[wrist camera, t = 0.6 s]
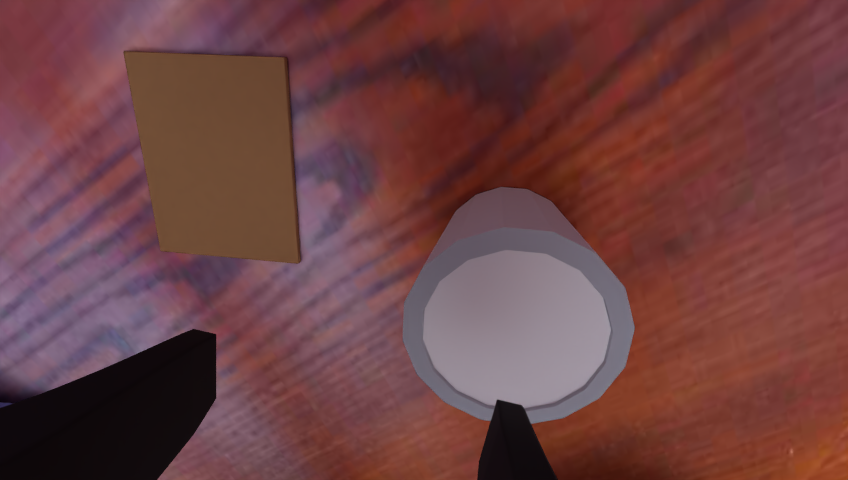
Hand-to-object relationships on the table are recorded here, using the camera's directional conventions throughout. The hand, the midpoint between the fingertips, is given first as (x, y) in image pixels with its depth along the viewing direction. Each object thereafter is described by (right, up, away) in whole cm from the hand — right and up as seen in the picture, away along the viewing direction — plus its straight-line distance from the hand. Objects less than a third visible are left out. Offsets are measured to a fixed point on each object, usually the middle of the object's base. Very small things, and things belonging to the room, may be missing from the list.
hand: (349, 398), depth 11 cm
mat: (-7, +7, +9) cm, 14 cm away
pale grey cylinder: (+5, +4, +9) cm, 11 cm away
